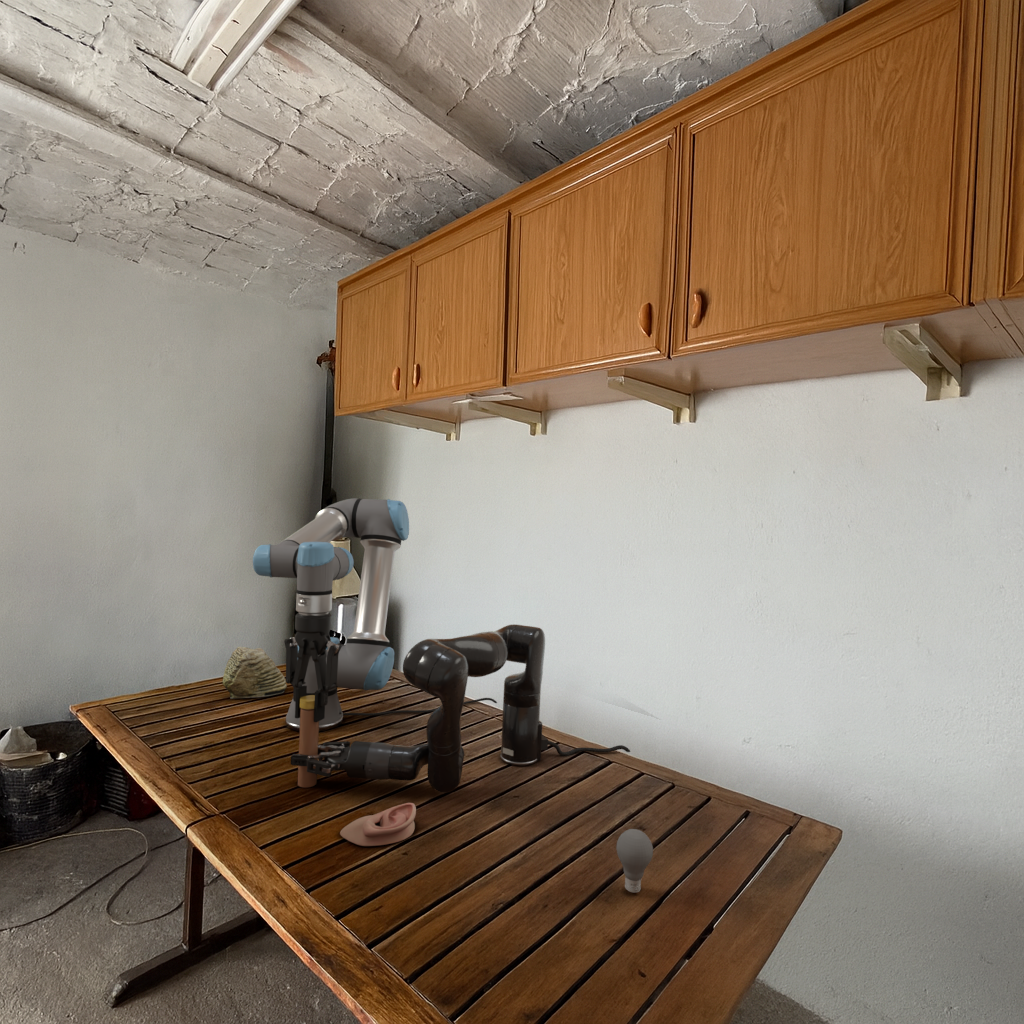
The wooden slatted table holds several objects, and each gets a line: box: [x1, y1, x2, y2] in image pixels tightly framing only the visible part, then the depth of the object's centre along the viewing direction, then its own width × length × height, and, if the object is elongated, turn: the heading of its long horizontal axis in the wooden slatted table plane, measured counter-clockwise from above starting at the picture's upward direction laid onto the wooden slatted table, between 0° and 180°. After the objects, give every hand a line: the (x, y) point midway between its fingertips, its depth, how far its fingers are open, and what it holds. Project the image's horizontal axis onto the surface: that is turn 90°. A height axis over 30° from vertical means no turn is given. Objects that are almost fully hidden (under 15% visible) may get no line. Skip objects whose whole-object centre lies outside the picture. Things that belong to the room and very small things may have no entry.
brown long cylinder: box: [297, 708, 320, 789], centre depth 139 cm, size 4×4×18 cm
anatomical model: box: [339, 802, 417, 847], centre depth 121 cm, size 13×4×12 cm
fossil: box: [222, 646, 288, 699], centre depth 198 cm, size 9×18×15 cm, turn 132°
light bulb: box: [615, 828, 654, 894], centre depth 106 cm, size 6×6×10 cm
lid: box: [300, 695, 315, 709], centre depth 139 cm, size 4×4×2 cm
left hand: (309, 717), depth 139 cm, fingers closed on lid, 4 cm apart
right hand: (296, 755), depth 140 cm, fingers closed on brown long cylinder, 4 cm apart
